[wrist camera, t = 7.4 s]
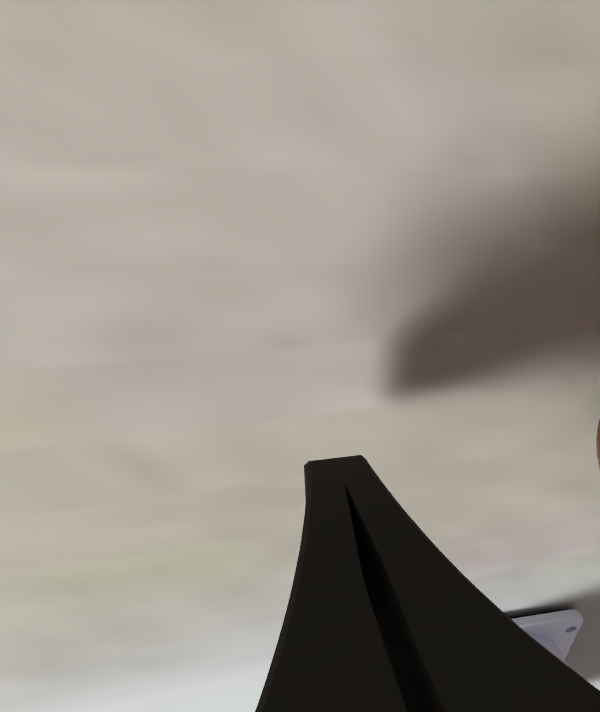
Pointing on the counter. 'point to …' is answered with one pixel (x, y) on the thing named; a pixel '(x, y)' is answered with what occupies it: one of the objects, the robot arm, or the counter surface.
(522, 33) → the counter surface
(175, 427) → the counter surface
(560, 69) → the counter surface
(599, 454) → the tin
